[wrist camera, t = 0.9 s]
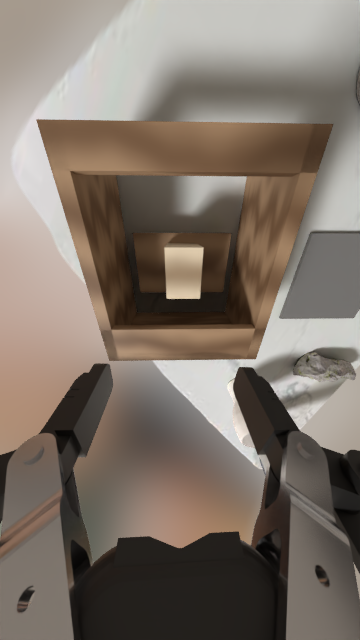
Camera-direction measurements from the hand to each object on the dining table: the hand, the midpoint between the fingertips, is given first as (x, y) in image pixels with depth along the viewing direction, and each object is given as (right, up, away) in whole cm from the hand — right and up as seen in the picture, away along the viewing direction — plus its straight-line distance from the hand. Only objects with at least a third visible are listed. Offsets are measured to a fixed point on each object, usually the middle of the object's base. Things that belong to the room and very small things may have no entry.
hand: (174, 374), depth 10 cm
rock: (+40, -9, +36) cm, 55 cm away
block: (+1, +13, +18) cm, 22 cm away
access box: (+1, +15, +21) cm, 26 cm away
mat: (+34, +12, +24) cm, 43 cm away
